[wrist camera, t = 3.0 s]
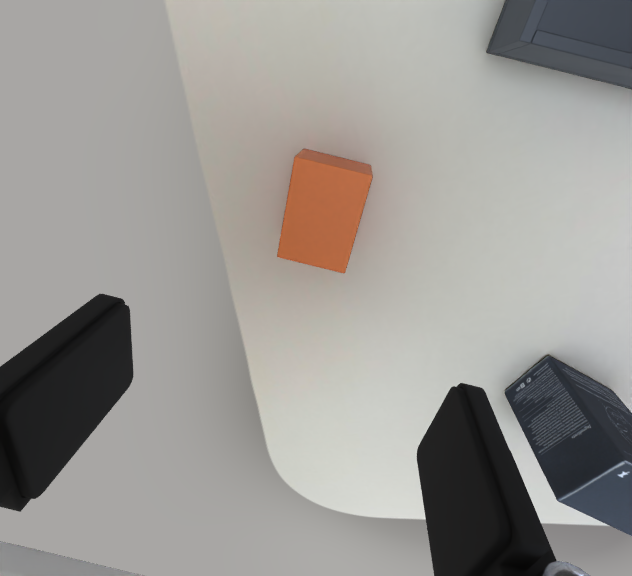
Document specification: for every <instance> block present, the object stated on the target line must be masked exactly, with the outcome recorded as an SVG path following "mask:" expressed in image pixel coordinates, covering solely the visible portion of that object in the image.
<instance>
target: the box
mask: <svg viewBox="0 0 632 576" xmlns="http://www.w3.org/2000/svg"><path fill="white" fill-rule="evenodd" d="M505 395H506V397H507V399H508V401H509V403H510V405H511V407H512V409H513V411H514V414H515V416H516V418H517V420H518V422H519V424H520V426H521V428H522V430H523V432H524V434H525V436H526V438H527V440H528V442H529V444H530V446H531V448H532V450H533V452H534V454H535V456H536V458H537V461H538V463H539V465H540V467H541V469H542V471H543V473H544V475H545V476H546V478H547V481H548V483H549V485H550V487H551V489H552V491H553V492H554V495H555V497H556V499H557V501H559V502H561V503H563V504H565V505H567V506H569V507H572V508H574V509H576V510H578V511H580V512H582V513H584V514H586V515H589V516H591V517H593V518H595V519H597V520H599V521H601V522H603V523H605V524H608V525H610V526H612V527H614V528H616V529H618V530H620V531H623V532H625V533H627V534H629V535H631V536H632V413H631V412H630V410H629V409H628V408H627V407H626V406H625V405H624V403H623V402H622V401H621V400H620V399H619V398H618V396H617V395H616V394H615V393H614V392H613V391H612V390H611V389H609V388H607V387H605V386H603V385H602V384H600V383H598V382H596V381H594V380H593V379H591V378H589V377H587V376H585V375H584V374H582V373H580V372H578V371H576V370H575V369H573V368H571V367H569V366H567V365H565V364H564V363H562V362H560V361H558V360H556V359H555V358H553V357H551V356H546V357H545V358H544V359H543V360H542V361H541V362H539V363H538V364H536V366H534V367H533V368H532V369H530V370H529V371H528V372H527V373H526V374H524V375H523V376H522V377H521V378H520V379H519V380H517V381H516V382H515V383H514V384H513V385H512V386H510V387H509V388H508V389H506V390H505Z"/></svg>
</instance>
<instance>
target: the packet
mask: <svg viewBox="0 0 632 576" xmlns="http://www.w3.org/2000/svg"><path fill="white" fill-rule="evenodd" d="M372 177H373V175H372V170H371V165H368V164H364V163H360V162H356V161H352V160H348V159H344V158H340V157H336V156H332V155H328V154H324V153H320V152H316V151H312V150H308V149H303V150H302V151H301V152H300V153H298V154H297V155H296V156H295V158H294V163H293V169H292V175H291V180H290V186H289V192H288V197H287V203H286V209H285V214H284V220H283V226H282V231H281V237H280V243H279V248H278V254H277V257H279V258H283V259H287V260H292V261H296V262H300V263H304V264H308V265H312V266H316V267H320V268H324V269H329V270H333V271H337V272H341V273H345V271H346V268H347V264H348V261H349V257H350V254H351V250H352V247H353V243H354V240H355V236H356V233H357V229H358V226H359V222H360V219H361V215H362V212H363V208H364V205H365V201H366V198H367V195H368V191H369V188H370V184H371V181H372Z"/></svg>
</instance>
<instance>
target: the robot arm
mask: <svg viewBox="0 0 632 576" xmlns="http://www.w3.org/2000/svg"><path fill="white" fill-rule="evenodd" d="M132 379H133V360H132V342H131V325H130V309H129V307H128V306H127V305H125V302H124V300H123V299H121V298H117V297H113V296H109V295H105V294H99V295H97V296H95V297H94V298H93V299H91V300H90V301H89V302H87V303H86V304H85V305H84V306H82V307H81V308H80V309H78V310H77V311H75V312H74V313H72V314H71V315H70V316H68V317H67V318H66V319H64V320H63V321H62V322H60V323H59V324H58V325H56V326H55V327H53V328H52V329H51V330H49V331H48V332H47V333H46V334H44V335H43V336H41V337H40V338H39V339H37V340H36V341H35V342H33V343H32V344H31V345H29V346H28V347H26V348H25V349H24V350H23V351H21V352H20V353H18V354H17V355H16V356H15V357H13V358H11V359H10V360H9V361H7V362H6V363H5V364H3V365H2V366H1V367H0V507H4V508H8V509H12V510H16V511H21V510H22V509H23V508H24V507H25V505H26V504H27V503H28V502H29V501H30V499H31V498H32V499H35V498H37V497H39V496H40V495H41V494H42V493H43V492H44V491H45V490H46V488H47V487H48V486H49V485H50V483H51V482H52V481H53V480H54V479H55V477H56V476H57V475H58V474H59V473H60V471H61V470H62V469H63V468H64V466H65V465H66V464H67V463H68V461H69V460H70V459H71V458H72V456H73V455H74V454H75V453H76V452H77V450H78V449H79V448H80V447H81V445H82V444H83V443H84V442H85V440H86V439H87V438H88V437H89V436H90V434H91V433H92V432H93V431H94V429H95V428H96V427H97V425H99V423H100V422H101V421H102V420H103V418H104V417H105V416H106V415H107V413H108V412H109V411H110V410H111V408H112V407H113V406H114V405H115V403H116V402H117V401H118V400H119V399H120V397H121V396H122V395H123V394H124V393H125V391H126V390H127V389H128V387H129V386H130V384H131V382H132ZM417 463H418V469H419V476H420V483H421V489H422V496H423V503H424V510H425V516H426V523H427V530H428V536H429V543H430V550H431V556H432V563H433V570H434V576H590V575H589V574H587V573H586V572H584V571H583V570H582V569H580V568H579V567H577V566H574V565H572V564H570V563H568V562H562V561H556V559H555V556H554V554H553V551H552V549H551V547H550V544H549V542H548V539H547V537H546V535H545V532H544V530H543V527H542V525H541V523H540V520H539V518H538V515H537V513H536V511H535V508H534V506H533V504H532V501H531V499H530V496H529V494H528V492H527V489H526V487H525V484H524V482H523V480H522V477H521V475H520V472H519V470H518V468H517V465H516V463H515V461H514V458H513V456H512V453H511V451H510V450H509V448H508V446H507V443H506V441H505V439H504V436H503V434H502V431H501V429H500V427H499V424H498V422H497V419H496V417H495V415H494V412H493V410H492V407H491V405H490V403H489V400H488V398H487V395H486V393H485V391H484V389H482V388H480V387H476V386H472V385H468V384H464V383H460V384H459V385H458V386H457V387H452V388H451V389H450V390H449V392H448V394H447V396H446V398H445V399H444V401H443V403H442V405H441V407H440V409H439V410H438V412H437V414H436V416H435V418H434V419H433V421H432V423H431V425H430V427H429V428H428V430H427V432H426V434H425V436H424V437H423V439H422V441H421V443H420V445H419V447H418V450H417ZM0 576H143V575H139V574H135V573H131V572H127V571H123V570H119V569H114V568H110V567H106V566H102V565H98V564H94V563H90V562H86V561H81V560H77V559H73V558H69V557H65V556H61V555H57V554H52V553H49V552H44V551H40V550H36V549H32V548H27V547H24V546H19V545H14V544H10V543H5V542H1V541H0Z"/></svg>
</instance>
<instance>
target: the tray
mask: <svg viewBox="0 0 632 576" xmlns="http://www.w3.org/2000/svg"><path fill="white" fill-rule="evenodd" d="M487 53H490V54H494V55H498V56H502V57H506V58H510V59H514V60H518V61H522V62H526V63H530V64H534V65H538V66H542V67H546V68H550V69H554V70H558V71H562V72H566V73H570V74H574V75H578V76H582V77H586V78H590V79H594V80H598V81H602V82H606V83H610V84H614V85H618V86H622V87H626V88H630V89H632V0H506V1H505V4H504V6H503V9H502V12H501V14H500V17H499V20H498V22H497V25H496V28H495V30H494V33H493V36H492V38H491V41H490V43H489V46H488V49H487Z"/></svg>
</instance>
